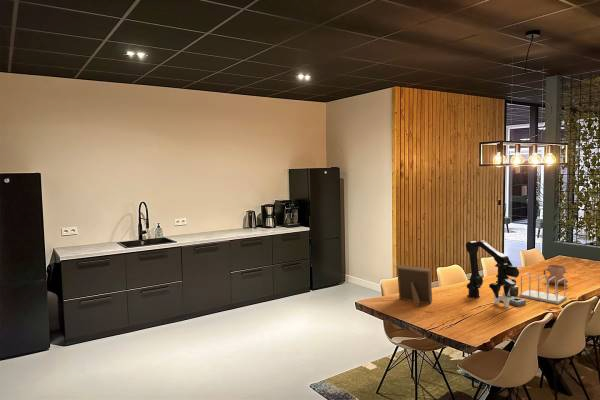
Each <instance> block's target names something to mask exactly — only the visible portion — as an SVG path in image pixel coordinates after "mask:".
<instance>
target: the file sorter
mask: <svg viewBox="0 0 600 400" xmlns="http://www.w3.org/2000/svg"><path fill="white" fill-rule="evenodd" d="M527 274H529V279H528V280H529V282H528V283H529V284H528V286H529V288H528V289H527V290H524V291H523V277H524V276H525V275H527ZM536 276H537V290H532V289H531V286H532V285H531V282H532V281H531V279H532V278H533V277H536ZM545 276H546V278H545V281H546V283H545V287H546V290H545V292H543V291H540V281H541V279H543V278H544V277H545ZM547 277H548V274H546V275H544V274H543V275H542V276H540V275H539V273H536V274H534V275H531V272H530V271H527V272H526V273H523V274H521V277H520V293H519V294H518V297H521V298H525V299H531V300H536V301H542V302H546V303H552V304H556V305H559V304H560V303H562V302H564V301H565V300H567V297H568V296H566V284H567V283H566V280H565V278H566V277H565V278H563V279H564V286H563V287H564V288H563V289H564V290H563V292H564V293H563V295H560V294H559V293H558V288H559V285H558V282H559V281H561V280H563V279H561V280H559V281H558V282H557V285H556V277H555V276H554V277H555V285H554V290H555V291H554V293H549V289H550V287H549V286H550V283H549V281H550V280H551V279H553V278H554V277H552V278H551V279H549V281H548V282H547ZM565 283H566V284H565Z"/></svg>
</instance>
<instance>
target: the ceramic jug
mask: <svg viewBox="0 0 600 400" xmlns="http://www.w3.org/2000/svg"><path fill="white" fill-rule="evenodd" d="M546 271H547V272H549V274H550V275H547V273H546ZM542 272H543V273H542V274H543V276H544V275H547V283H548V281H549V279H551V278H552V277H554V276H555V277H556V286H557V282H558V281H559V280H561V279H563V278H565V280H566V283H565V285H566V284H567V283H568V282H569V281H568V279H567V278H566V277H564V274H569V273H570V272H569V271H567V267H566V266H565V265H562V264H561V265H560V264H548V265H547V267H546V268H544V269H543V270H542ZM555 277H554V278H553V279H551V280H550V281H549V285H554V286H555ZM545 279H546V276H545ZM563 285H564V279H563V280H561V281H559V282H558V286H563Z"/></svg>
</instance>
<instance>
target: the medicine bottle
mask: <svg viewBox="0 0 600 400" xmlns="http://www.w3.org/2000/svg"><path fill="white" fill-rule="evenodd" d="M509 279H510V280H512V279H513V277H511V278H509ZM502 289H503V290H502V293H503V295H505V293H504V288H502ZM508 295H509V296H513V297H516V298H517V297H519V286H518V285H515V286H514V287H512V288H510V290H509V292H508Z"/></svg>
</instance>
